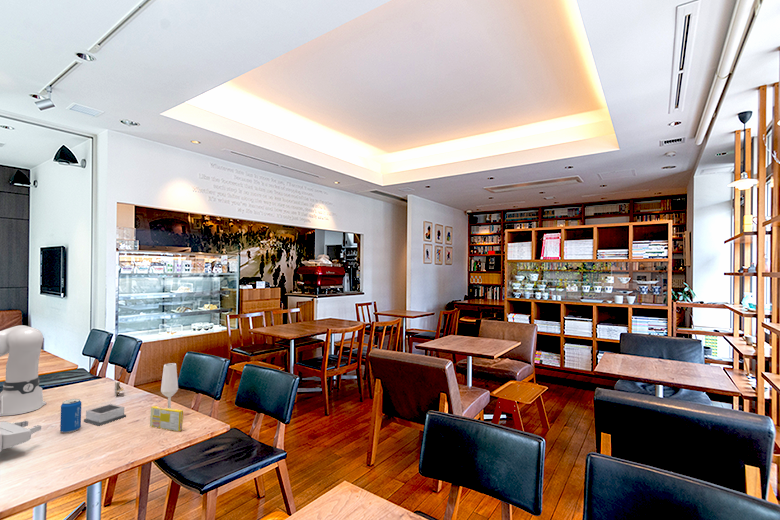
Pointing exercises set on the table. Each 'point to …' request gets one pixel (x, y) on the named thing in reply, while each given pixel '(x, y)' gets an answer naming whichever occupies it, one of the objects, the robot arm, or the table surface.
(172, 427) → the candy box
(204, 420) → the table surface
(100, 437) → the table surface
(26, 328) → the robot arm
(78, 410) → the beverage can
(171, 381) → the champagne flute
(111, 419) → the can holder
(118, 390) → the architectural model
